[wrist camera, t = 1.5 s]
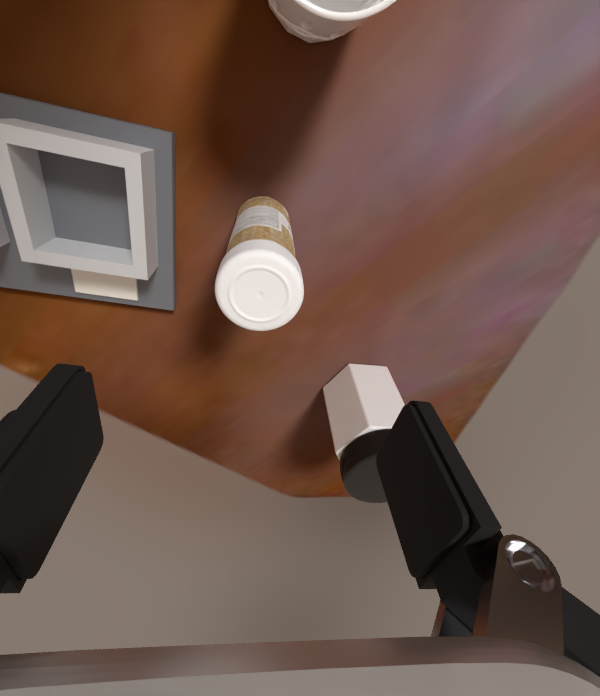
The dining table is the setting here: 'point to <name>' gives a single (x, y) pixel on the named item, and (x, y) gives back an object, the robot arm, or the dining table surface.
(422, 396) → the dining table surface
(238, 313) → the sprinkles bottle
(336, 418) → the jar
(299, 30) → the white cup
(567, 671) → the robot arm
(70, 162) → the socket board
